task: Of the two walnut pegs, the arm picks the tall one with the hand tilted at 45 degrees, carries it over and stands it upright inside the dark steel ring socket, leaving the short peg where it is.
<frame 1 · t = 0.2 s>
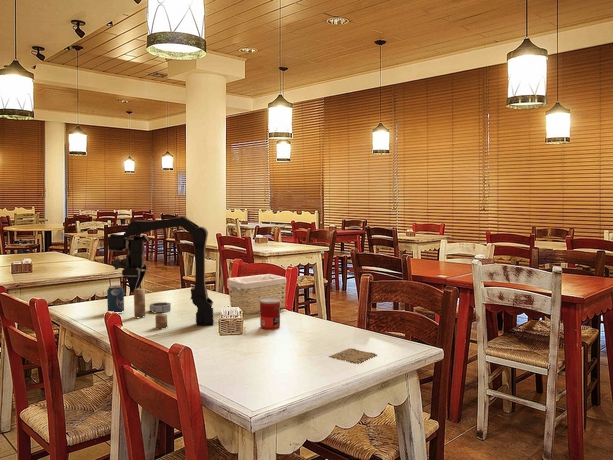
hand: (134, 290, 212), 14 cm above the table, tool pointing down, fingers open, 9 cm apart
storage basket: (257, 309, 244), on the table
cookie: (353, 357, 173), on the table
canned food: (270, 327, 210), on the table
short walnut peg: (161, 327, 210), on the table
tall walnut peg: (139, 316, 228), on the table
soda can: (116, 313, 235), on the table
steel ring socket: (160, 310, 240), on the table
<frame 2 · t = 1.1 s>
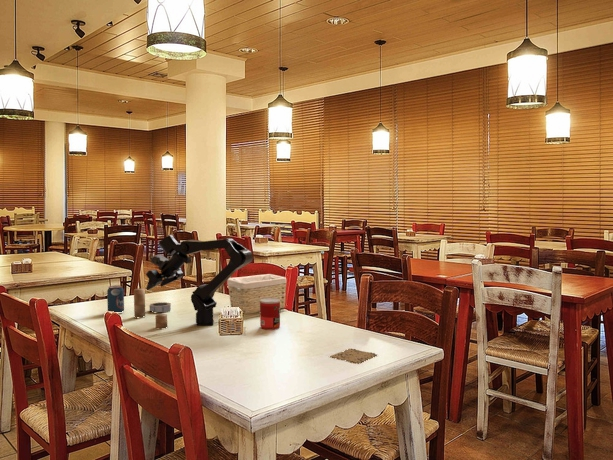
hand: (154, 287, 224), 13 cm above the table, tool tilted 45°, fingers open, 9 cm apart
nothing on the table moved.
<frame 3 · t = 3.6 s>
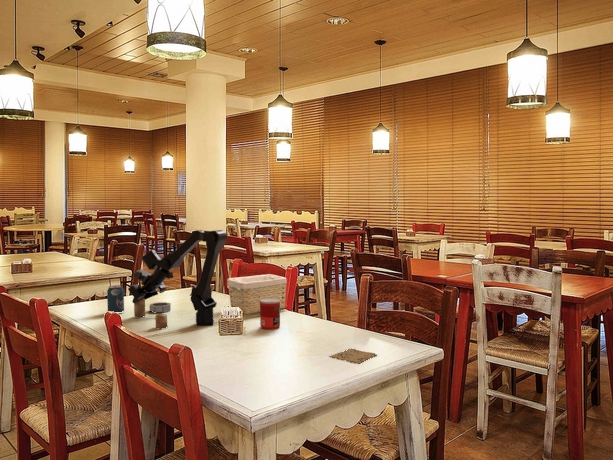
hand: (136, 301, 228), 7 cm above the table, tool tilted 45°, fingers closed on tall walnut peg, 4 cm apart
tall walnut peg: (139, 316, 228), on the table, touching gripper
everything else where it was.
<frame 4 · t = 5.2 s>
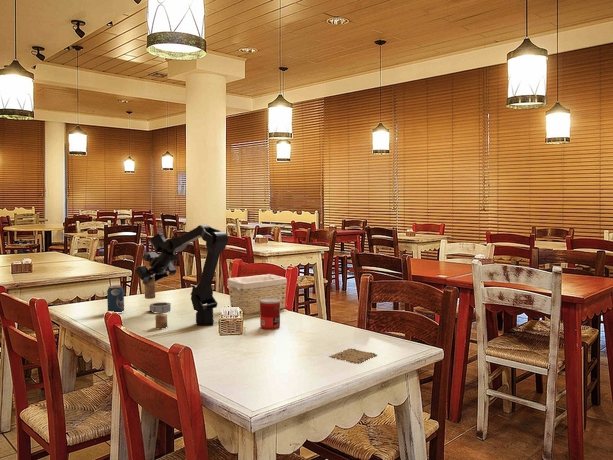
hand: (147, 282, 235), 14 cm above the table, tool tilted 45°, fingers closed on tall walnut peg, 4 cm apart
tall walnut peg: (150, 297, 234), point 7 cm above the table, touching gripper
everything else where it was.
when the fingers open (8 cm above the table, at t = 7.0 s): tall walnut peg drops 1 cm, resting in steel ring socket.
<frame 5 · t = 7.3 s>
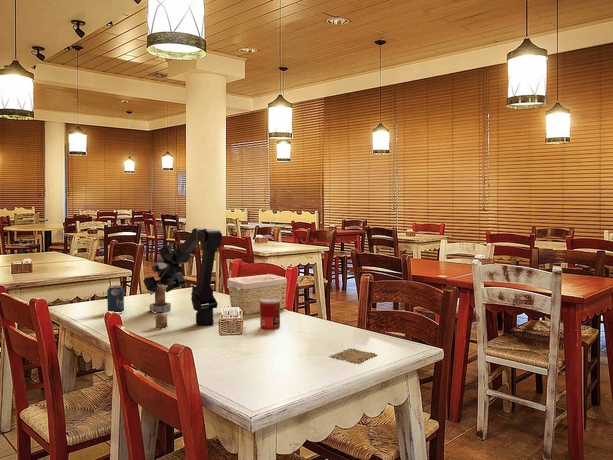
hand: (158, 293, 240), 8 cm above the table, tool tilted 45°, fingers open, 8 cm apart
tall walnut peg: (160, 310, 240), resting in steel ring socket
everything else where it was.
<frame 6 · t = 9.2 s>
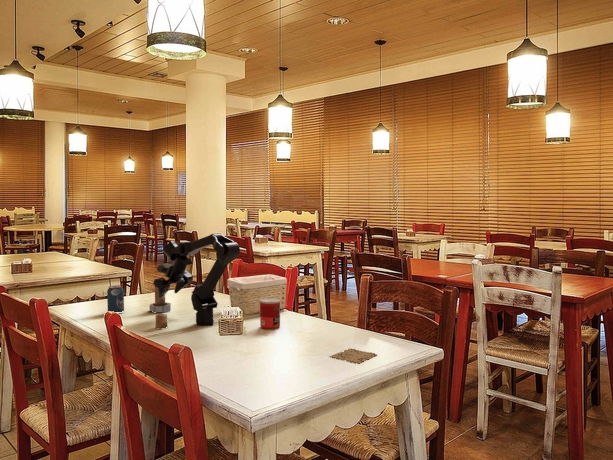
hand: (167, 295, 230), 9 cm above the table, tool tilted 30°, fingers open, 9 cm apart
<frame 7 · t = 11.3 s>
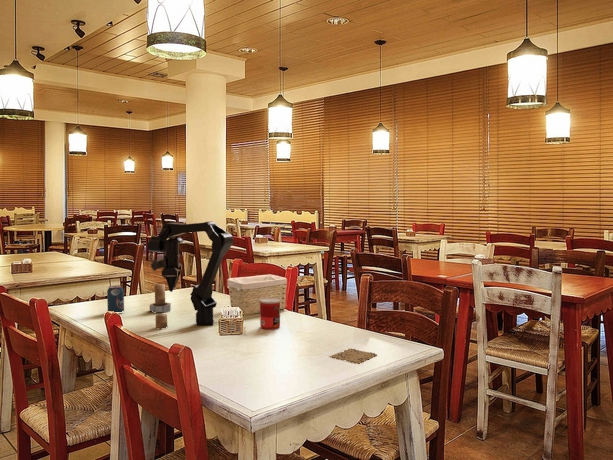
hand: (172, 289, 221), 13 cm above the table, tool pointing down, fingers open, 9 cm apart
at the end: tall walnut peg 0.0 cm off-centre on the steel ring socket, point 0.0 cm above the steel ring socket's base; tall walnut peg tilted 0°; the gripper is holding nothing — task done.
